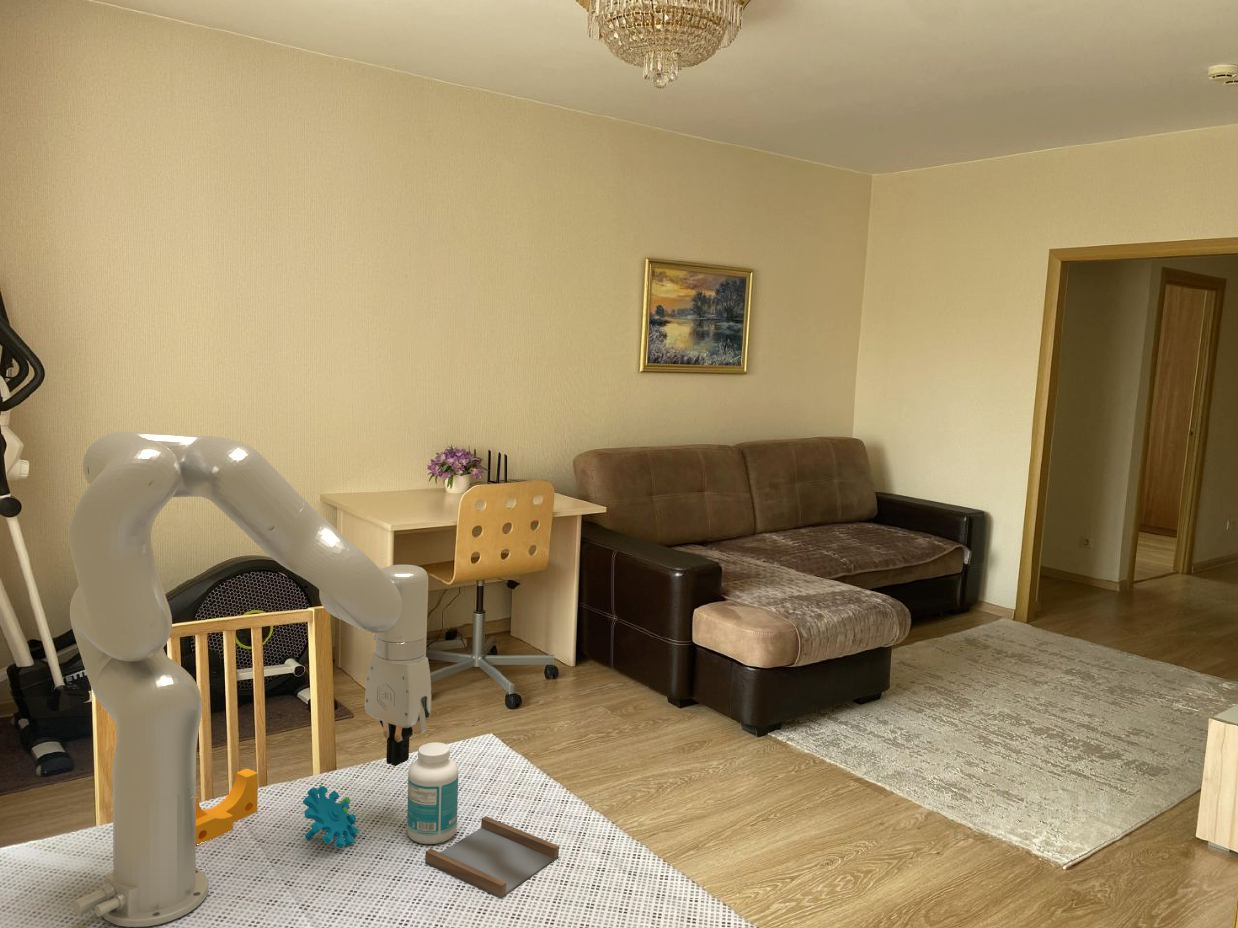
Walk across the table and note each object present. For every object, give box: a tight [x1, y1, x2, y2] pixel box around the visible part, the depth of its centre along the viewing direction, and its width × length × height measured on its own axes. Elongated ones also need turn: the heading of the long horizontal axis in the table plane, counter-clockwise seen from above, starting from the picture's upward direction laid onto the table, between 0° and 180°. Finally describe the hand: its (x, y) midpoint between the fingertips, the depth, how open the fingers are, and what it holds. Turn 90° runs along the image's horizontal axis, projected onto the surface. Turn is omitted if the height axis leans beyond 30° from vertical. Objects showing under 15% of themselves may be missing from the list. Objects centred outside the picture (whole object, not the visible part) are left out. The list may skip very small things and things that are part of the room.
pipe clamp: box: [196, 768, 259, 845], centre depth 139 cm, size 12×4×6 cm, turn 148°
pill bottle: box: [406, 742, 459, 845], centre depth 140 cm, size 8×7×14 cm
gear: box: [302, 785, 359, 849], centre depth 137 cm, size 11×6×10 cm
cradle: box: [424, 815, 560, 899], centre depth 134 cm, size 13×14×2 cm
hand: (397, 761), depth 144 cm, fingers closed
